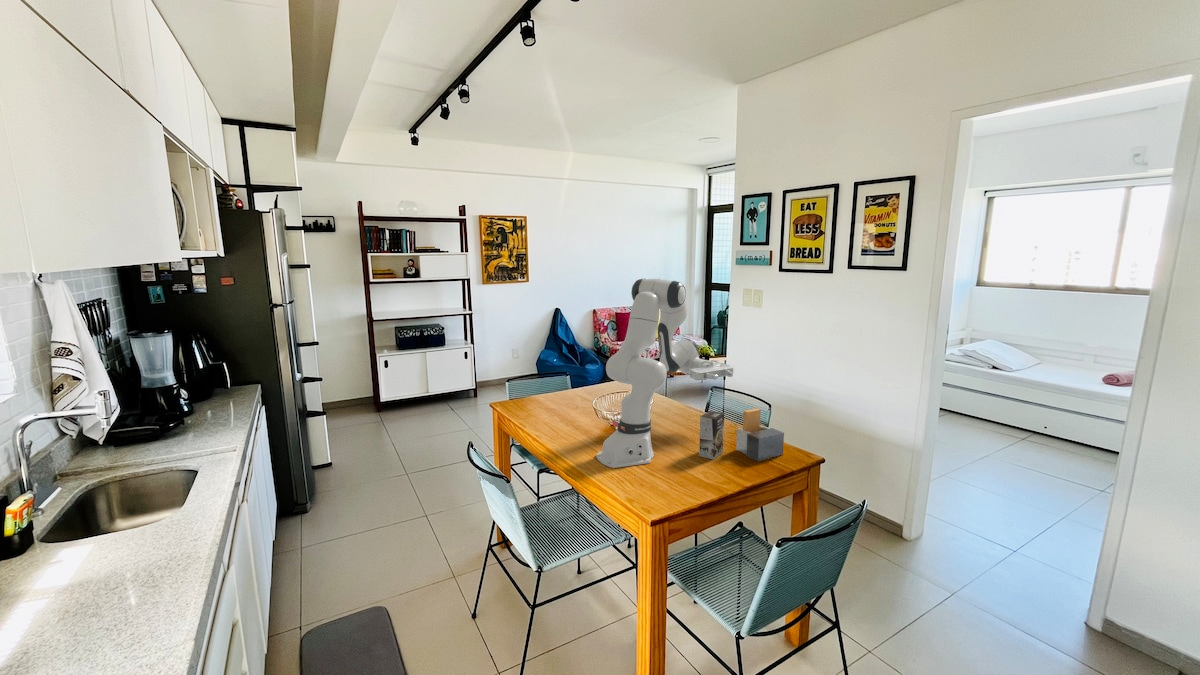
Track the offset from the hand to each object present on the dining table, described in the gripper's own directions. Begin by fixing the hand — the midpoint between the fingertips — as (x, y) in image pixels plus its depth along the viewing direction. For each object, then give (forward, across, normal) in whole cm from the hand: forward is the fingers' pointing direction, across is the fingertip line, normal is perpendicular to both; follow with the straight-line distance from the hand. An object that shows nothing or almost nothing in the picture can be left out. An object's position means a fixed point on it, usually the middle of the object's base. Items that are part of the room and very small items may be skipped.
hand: (723, 376), depth 205 cm
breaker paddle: (+17, 0, +20) cm, 26 cm away
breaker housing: (+21, 0, +26) cm, 34 cm away
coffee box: (+13, -17, +26) cm, 34 cm away
